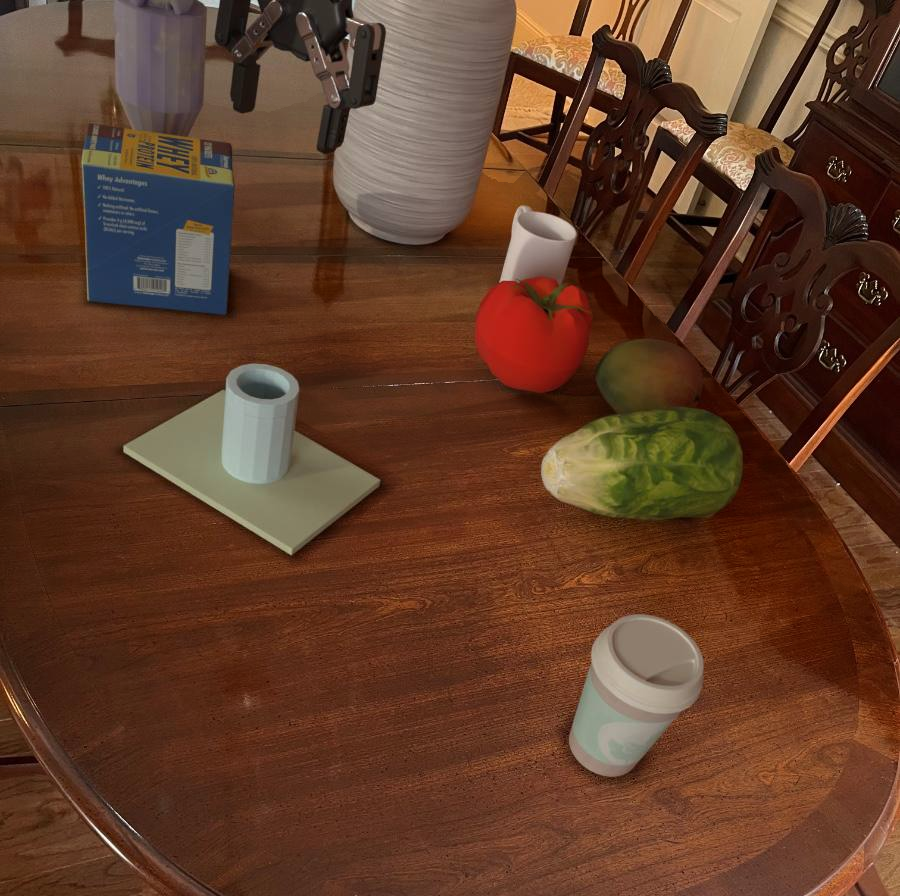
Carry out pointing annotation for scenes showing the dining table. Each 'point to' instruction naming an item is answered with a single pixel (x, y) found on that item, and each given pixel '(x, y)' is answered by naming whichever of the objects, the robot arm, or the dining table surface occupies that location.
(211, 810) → the dining table surface
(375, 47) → the robot arm
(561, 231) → the mug
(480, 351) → the tomato
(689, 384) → the fruit
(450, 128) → the vase
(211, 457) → the mat
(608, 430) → the lettuce
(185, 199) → the protein box
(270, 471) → the cylindrical container
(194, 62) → the decorative object
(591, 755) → the coffee cup
